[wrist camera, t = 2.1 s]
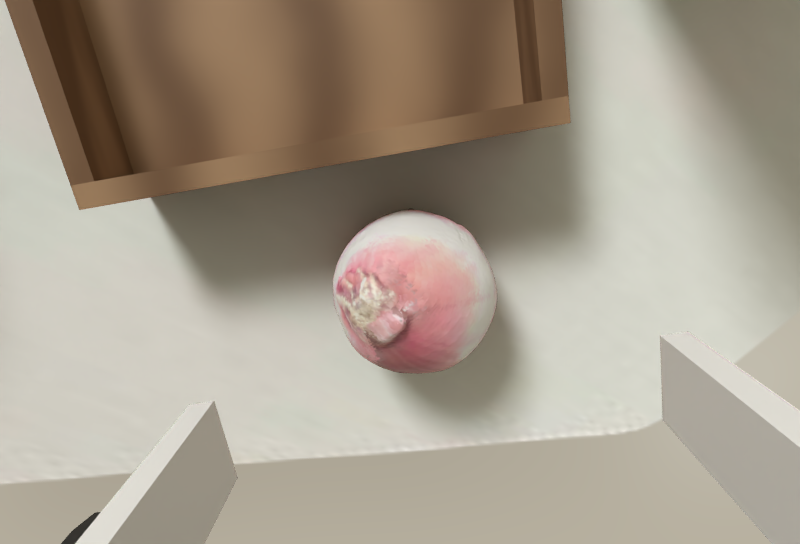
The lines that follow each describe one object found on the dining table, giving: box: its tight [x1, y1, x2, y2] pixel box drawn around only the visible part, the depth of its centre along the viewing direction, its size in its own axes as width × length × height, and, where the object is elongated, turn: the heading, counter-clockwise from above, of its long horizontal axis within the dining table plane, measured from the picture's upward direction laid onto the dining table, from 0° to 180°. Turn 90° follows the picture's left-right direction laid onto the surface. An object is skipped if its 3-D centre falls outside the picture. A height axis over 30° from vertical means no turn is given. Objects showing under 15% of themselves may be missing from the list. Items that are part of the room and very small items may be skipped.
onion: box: [333, 209, 497, 373], centre depth 23 cm, size 8×8×7 cm
